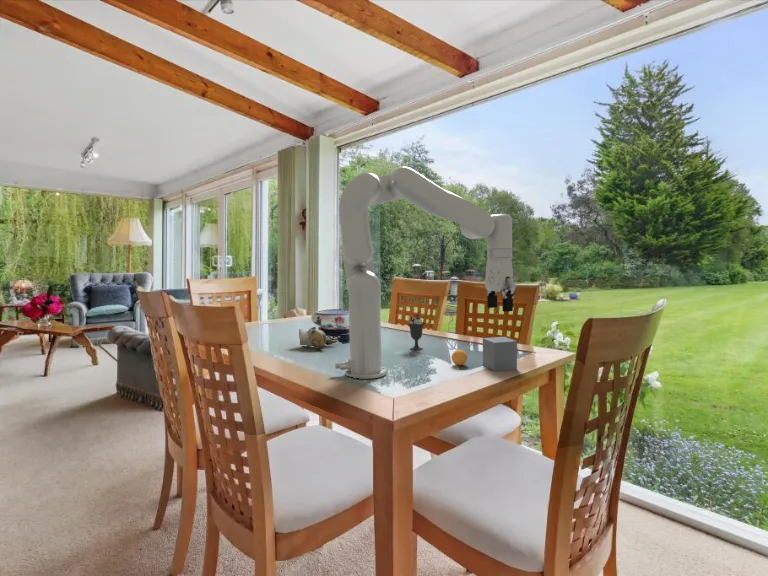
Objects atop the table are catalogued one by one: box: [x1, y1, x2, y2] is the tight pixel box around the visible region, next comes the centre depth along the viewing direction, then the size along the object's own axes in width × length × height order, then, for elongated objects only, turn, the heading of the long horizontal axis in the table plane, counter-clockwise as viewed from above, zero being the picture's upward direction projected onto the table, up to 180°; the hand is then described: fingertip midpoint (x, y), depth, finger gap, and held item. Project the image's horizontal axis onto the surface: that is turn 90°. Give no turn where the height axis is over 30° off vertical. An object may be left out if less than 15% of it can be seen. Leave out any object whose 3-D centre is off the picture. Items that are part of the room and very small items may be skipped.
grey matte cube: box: [482, 336, 518, 372], centre depth 137 cm, size 8×8×9 cm
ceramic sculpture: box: [298, 326, 338, 349], centre depth 172 cm, size 11×9×15 cm
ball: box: [451, 349, 468, 366], centre depth 140 cm, size 5×5×5 cm
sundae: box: [407, 310, 426, 351], centre depth 165 cm, size 7×7×15 cm
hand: (499, 309), depth 136 cm, fingers open, 9 cm apart
